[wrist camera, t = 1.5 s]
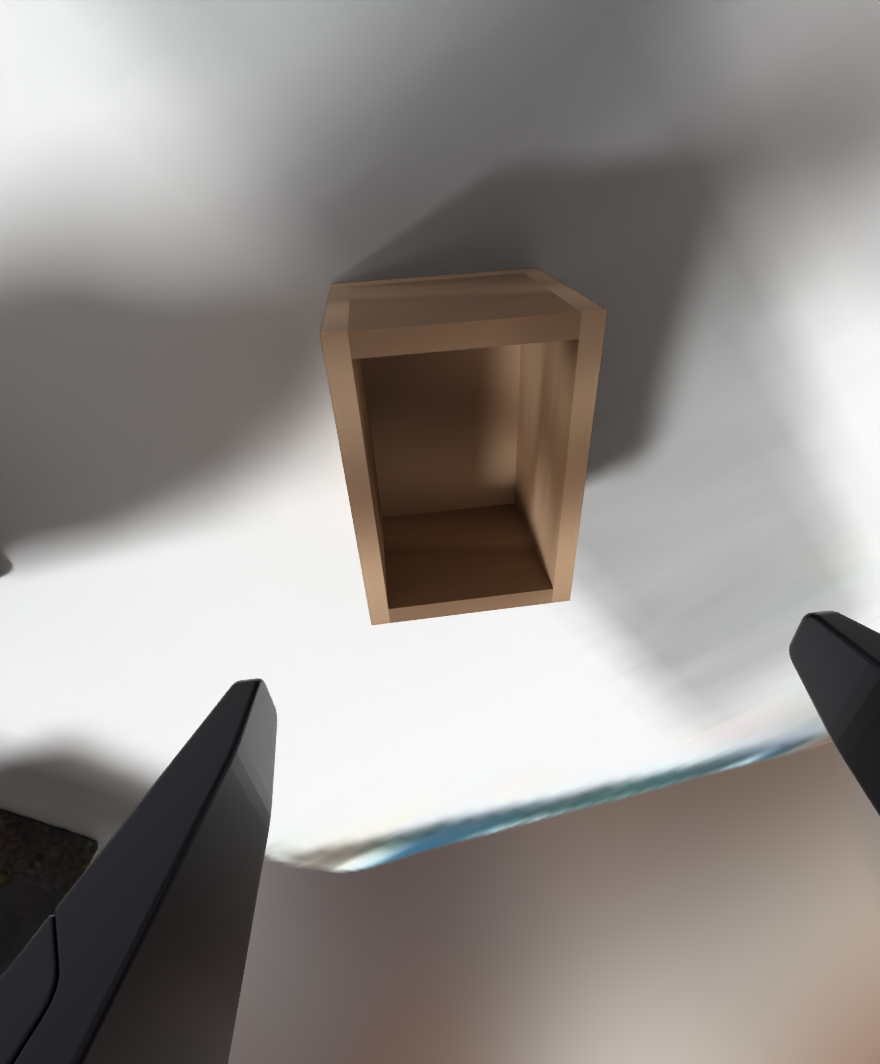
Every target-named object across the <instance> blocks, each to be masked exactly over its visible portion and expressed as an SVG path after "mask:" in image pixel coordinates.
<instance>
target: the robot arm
mask: <svg viewBox="0 0 880 1064" xmlns="http://www.w3.org/2000/svg"><path fill="white" fill-rule="evenodd" d="M789 654H790V658H791V660H792V663H793V665H794V667H795V669H796V671H797V672H798V674H799V676H800V678H801V680H802V682H803V684H804V686H805V688H806V690H807V692H808V694H809V696H810V698H811V700H812V702H813V704H814V706H815V708H816V710H817V712H818V714H819V716H820V718H821V720H822V722H823V724H824V726H825V728H826V730H827V731H828V733H829V735H830V737H831V739H832V741H833V742H834V744H835V746H836V748H837V749H838V751H839V753H840V754H841V756H842V758H843V759H844V761H845V762H846V764H847V765H848V767H849V769H850V770H851V772H852V773H853V775H854V776H855V778H856V780H857V781H858V783H859V784H860V786H861V787H862V789H863V791H864V792H865V794H866V795H867V797H868V798H869V800H870V802H871V803H872V805H873V806H874V808H875V810H876V811H877V813H878V814H879V816H880V633H878V632H876V631H874V630H872V629H870V628H868V627H866V626H864V625H862V624H860V623H858V622H856V621H854V620H852V619H850V618H848V617H846V616H844V615H842V614H840V613H838V612H835V611H821V612H813V613H808V614H807V615H805V616H804V617H803V619H802V620H801V623H800V625H799V627H798V629H797V631H796V633H795V635H794V637H793V639H792V641H791V643H790V647H789ZM276 731H277V713H276V709H275V706H274V704H273V701H272V699H271V696H270V694H269V692H268V689H267V687H266V684H265V683H264V681H263V680H262V679H258V678H256V679H248V680H240V681H237V682H235V683H234V684H233V685H232V686H231V687H230V689H229V690H228V691H227V692H226V694H225V695H224V696H223V697H222V699H221V700H220V701H219V702H218V704H217V705H216V706H215V708H214V709H213V710H212V711H211V713H210V714H209V715H208V716H207V718H206V719H205V720H204V721H203V723H202V724H201V725H200V726H199V728H198V729H197V730H196V732H195V733H194V734H193V735H192V737H191V738H190V739H189V740H188V742H187V743H186V744H185V745H184V747H183V748H182V749H181V750H180V752H179V753H178V754H177V756H176V757H175V758H174V759H173V761H172V762H171V763H170V764H169V766H168V767H167V768H166V769H165V771H164V772H163V773H162V774H161V776H160V777H159V778H158V779H157V781H156V782H155V783H154V785H153V786H152V787H151V788H150V790H149V791H148V792H147V793H146V795H145V796H144V797H143V798H142V800H141V801H140V802H139V803H138V805H137V806H136V807H135V809H134V810H133V811H132V812H131V814H130V815H129V816H128V817H127V819H126V820H125V821H124V822H123V824H122V825H121V826H120V827H119V829H118V830H117V831H116V833H115V834H114V835H113V836H112V838H111V839H110V840H109V841H108V843H107V844H106V845H105V846H104V848H103V849H102V850H101V851H100V853H99V854H98V855H97V857H96V858H95V859H94V860H93V862H92V863H91V864H90V865H89V867H88V868H87V869H86V870H85V872H84V873H83V874H82V875H81V877H80V878H79V879H78V880H77V882H76V883H75V884H74V886H73V887H72V888H71V889H70V891H69V892H68V893H67V894H66V896H65V897H64V898H63V899H62V901H61V902H60V903H59V904H58V906H57V907H56V908H55V912H54V914H55V915H51V916H49V917H48V918H47V919H46V921H45V922H44V923H43V924H42V926H41V927H40V928H39V929H38V931H37V932H36V933H35V934H34V936H33V937H32V938H31V939H30V941H29V942H28V943H27V945H26V946H25V947H24V948H23V950H22V951H21V952H20V953H19V954H18V956H17V957H16V958H15V959H14V961H13V962H12V963H11V964H10V965H9V967H8V968H7V969H6V970H5V971H4V973H3V974H2V975H1V976H0V1064H228V1060H229V1055H230V1049H231V1043H232V1037H233V1032H234V1026H235V1020H236V1015H237V1008H238V1003H239V997H240V992H241V986H242V980H243V974H244V969H245V963H246V957H247V951H248V946H249V940H250V934H251V929H252V922H253V917H254V911H255V906H256V899H257V894H258V889H259V883H260V877H261V872H262V866H263V860H264V855H265V849H266V843H267V837H268V831H269V825H270V818H271V807H272V793H273V778H274V762H275V747H276Z"/></svg>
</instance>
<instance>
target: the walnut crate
mask: <svg viewBox="0 0 880 1064" xmlns="http://www.w3.org/2000/svg"><path fill="white" fill-rule="evenodd" d="M606 317H607V309H605V308H603V307H602V306H600V305H598V304H597V303H595V302H593V301H592V300H590V299H588V298H587V297H585V296H583V295H582V294H580V293H578V292H577V291H575V290H573V289H572V288H570V287H568V286H567V285H565V284H563V283H562V282H560V281H558V280H557V279H555V278H553V277H552V276H550V275H548V274H547V273H545V272H543V271H542V270H540V269H538V268H527V269H514V270H501V271H488V272H475V273H463V274H450V275H437V276H424V277H411V278H398V279H385V280H372V281H359V282H346V283H334V284H331V288H330V293H329V297H328V301H327V305H326V310H325V314H324V318H323V323H322V327H321V331H320V338H321V344H322V349H323V355H324V361H325V366H326V372H327V377H328V383H329V389H330V394H331V400H332V406H333V411H334V417H335V422H336V428H337V434H338V439H339V445H340V451H341V456H342V462H343V467H344V473H345V479H346V484H347V490H348V496H349V501H350V507H351V512H352V518H353V524H354V529H355V535H356V541H357V546H358V552H359V557H360V563H361V569H362V574H363V580H364V586H365V591H366V597H367V602H368V608H369V614H370V619H371V625H377V624H385V623H393V622H401V621H409V620H417V619H425V618H433V617H441V616H449V615H457V614H465V613H473V612H481V611H489V610H497V609H505V608H513V607H521V606H529V605H537V604H545V603H553V602H561V601H569V600H570V595H571V587H572V579H573V572H574V564H575V556H576V549H577V541H578V533H579V525H580V518H581V510H582V502H583V495H584V487H585V479H586V471H587V464H588V456H589V448H590V441H591V433H592V425H593V417H594V410H595V402H596V394H597V387H598V379H599V371H600V364H601V356H602V348H603V340H604V333H605V325H606Z"/></svg>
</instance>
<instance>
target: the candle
mask: <svg viewBox="0 0 880 1064" xmlns="http://www.w3.org/2000/svg"><path fill="white" fill-rule="evenodd" d="M97 848H98V843H96V842H94V841H91V840H89V839H88V838H86V837H84V836H80V835H77V834H74V833H70V832H67V831H63V830H60V829H56V828H53V827H50V826H48V825H45V824H43V823H40V822H37V821H34V820H31V819H27V818H23V817H19V816H16V815H13V814H10V813H7V812H4V811H2V810H0V976H1V975H2V974H3V973H4V971H5V970H6V969H7V968H8V967H9V965H10V964H11V963H12V962H13V961H14V959H15V958H16V957H17V956H18V954H19V953H20V952H21V951H22V950H23V948H24V947H25V946H26V945H27V943H28V942H29V941H30V939H31V938H32V937H33V936H34V934H35V933H36V932H37V931H38V929H39V928H40V927H41V926H42V924H43V923H44V922H45V921H46V919H47V918H48V917H49V916H51V915H55V914H54V912H55V908H56V907H57V906H58V904H59V903H60V902H61V901H62V899H63V898H64V897H65V896H66V894H67V893H68V892H69V891H70V889H71V888H72V887H73V886H74V884H75V883H76V882H77V880H78V879H79V878H80V877H81V875H82V874H83V873H84V872H85V870H86V869H87V868H88V867H89V865H90V862H91V860H92V858H93V856H94V854H95V852H96V851H97Z"/></svg>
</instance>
